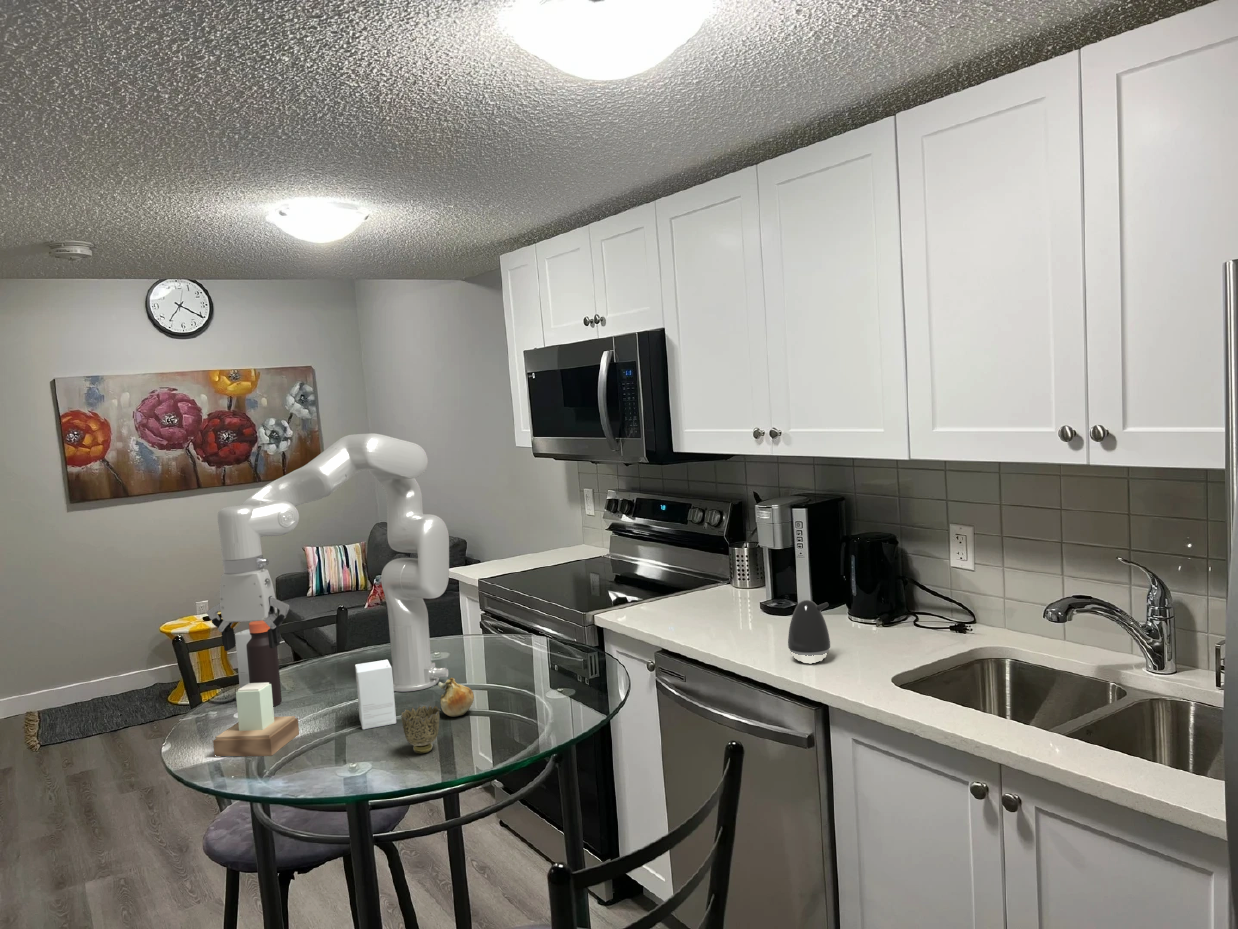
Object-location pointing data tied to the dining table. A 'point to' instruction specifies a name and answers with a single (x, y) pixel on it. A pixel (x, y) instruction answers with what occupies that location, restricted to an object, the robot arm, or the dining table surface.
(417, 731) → the cup
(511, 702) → the dining table surface
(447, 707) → the onion
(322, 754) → the dining table surface
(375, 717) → the supplement box
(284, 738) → the base block
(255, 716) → the sage block
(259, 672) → the bottle
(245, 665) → the skincare box
